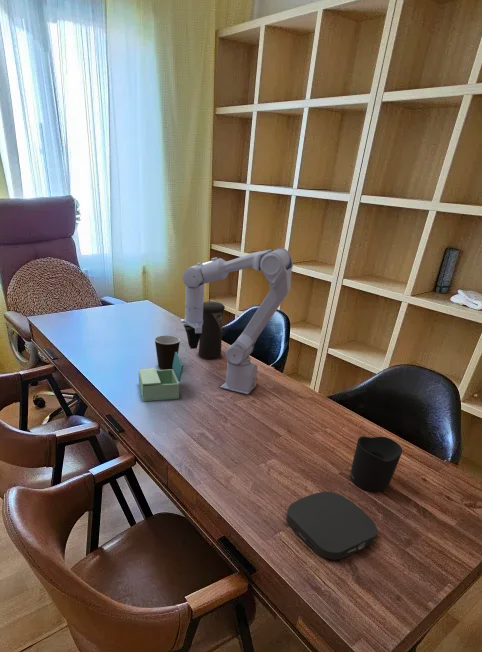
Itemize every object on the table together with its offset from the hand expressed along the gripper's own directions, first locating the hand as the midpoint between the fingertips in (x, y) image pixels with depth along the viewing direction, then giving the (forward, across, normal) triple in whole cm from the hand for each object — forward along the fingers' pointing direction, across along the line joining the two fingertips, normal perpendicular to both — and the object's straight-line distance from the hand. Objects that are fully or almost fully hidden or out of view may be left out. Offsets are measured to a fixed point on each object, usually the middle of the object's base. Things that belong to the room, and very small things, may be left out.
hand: (192, 347), depth 140 cm
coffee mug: (+11, -10, -6) cm, 16 cm away
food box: (+10, +10, -13) cm, 19 cm away
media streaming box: (+11, +75, +12) cm, 76 cm away
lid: (+2, +10, -7) cm, 13 cm away
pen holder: (+11, +63, +29) cm, 70 cm away
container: (+11, -17, +10) cm, 22 cm away
